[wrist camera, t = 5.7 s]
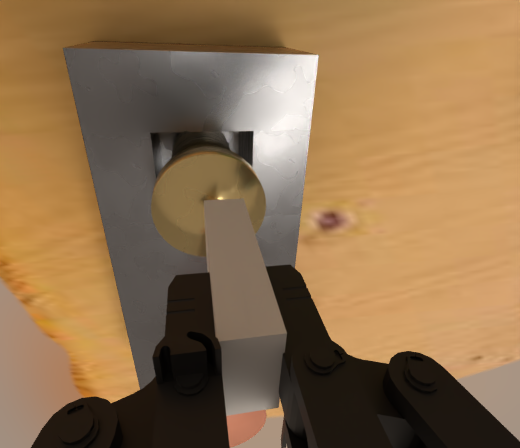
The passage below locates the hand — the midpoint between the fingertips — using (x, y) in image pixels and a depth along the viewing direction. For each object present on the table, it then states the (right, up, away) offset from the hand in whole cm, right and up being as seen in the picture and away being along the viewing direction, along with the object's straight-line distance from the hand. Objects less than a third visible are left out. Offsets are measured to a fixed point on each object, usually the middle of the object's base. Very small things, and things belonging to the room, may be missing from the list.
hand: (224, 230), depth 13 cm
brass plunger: (-2, +5, +8) cm, 10 cm away
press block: (-3, 0, +13) cm, 13 cm away
